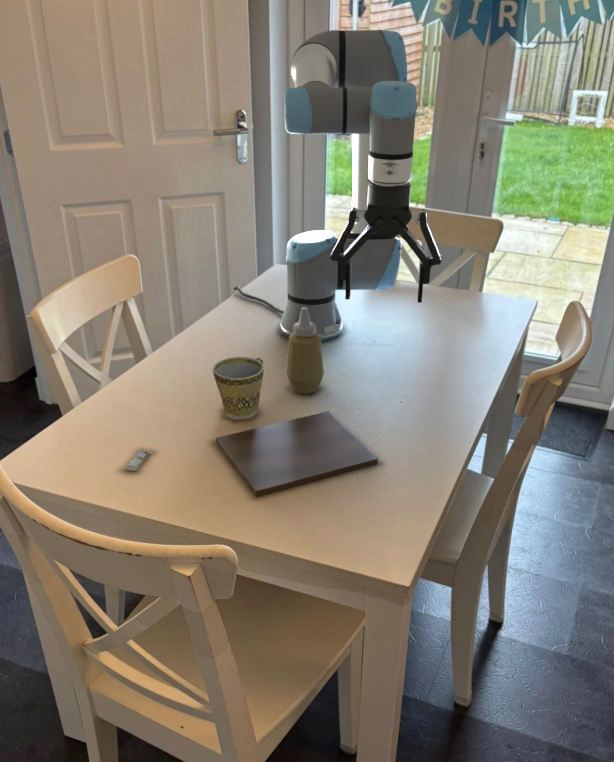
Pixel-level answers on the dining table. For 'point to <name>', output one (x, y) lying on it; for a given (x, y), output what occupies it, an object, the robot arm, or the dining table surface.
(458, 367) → the dining table surface
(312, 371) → the squeeze bottle
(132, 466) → the granola bar
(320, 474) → the serving board
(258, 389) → the ceramic cup
